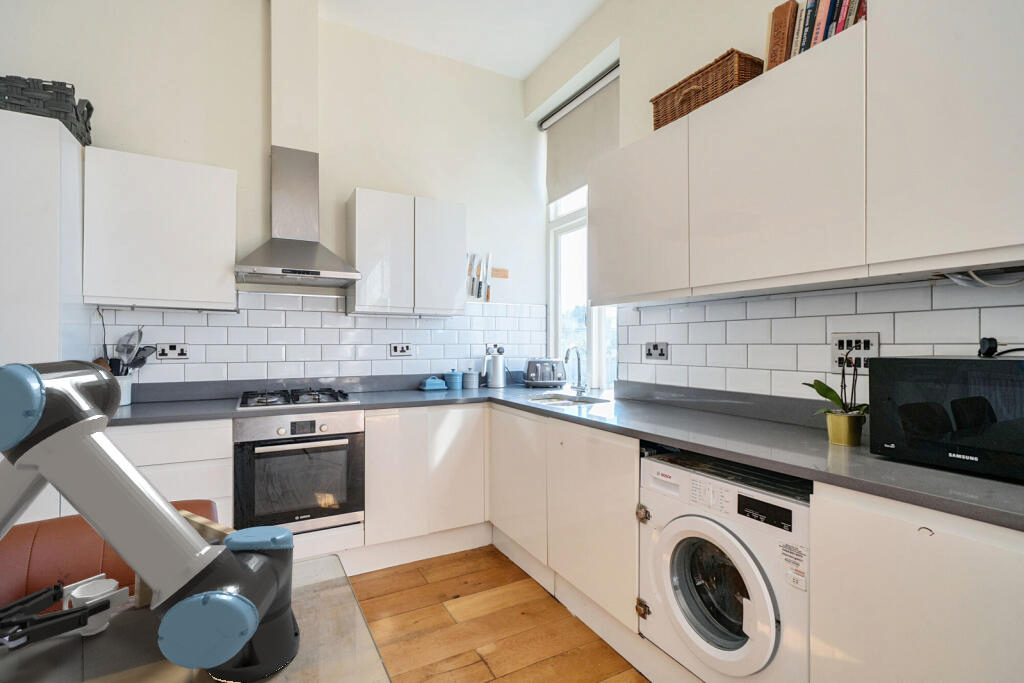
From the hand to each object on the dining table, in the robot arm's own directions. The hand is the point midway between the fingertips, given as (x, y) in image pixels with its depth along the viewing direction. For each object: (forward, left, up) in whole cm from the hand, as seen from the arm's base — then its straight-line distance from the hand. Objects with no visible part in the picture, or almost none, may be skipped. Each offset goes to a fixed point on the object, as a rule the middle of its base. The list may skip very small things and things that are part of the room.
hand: (115, 586), depth 95 cm
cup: (0, +4, -6) cm, 8 cm away
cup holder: (-9, -9, -7) cm, 14 cm away
